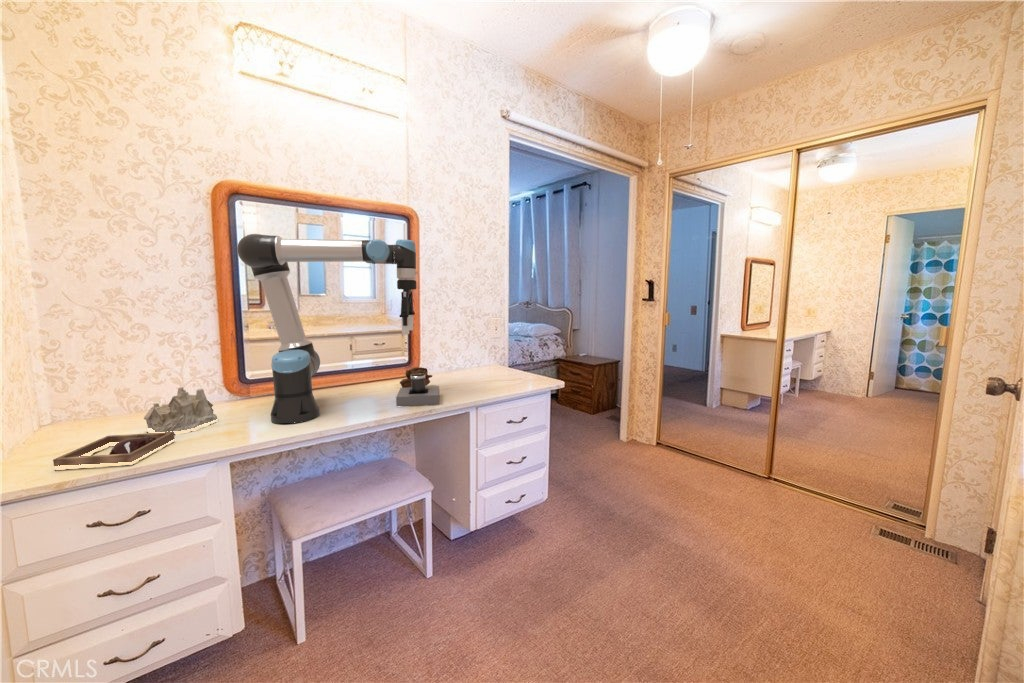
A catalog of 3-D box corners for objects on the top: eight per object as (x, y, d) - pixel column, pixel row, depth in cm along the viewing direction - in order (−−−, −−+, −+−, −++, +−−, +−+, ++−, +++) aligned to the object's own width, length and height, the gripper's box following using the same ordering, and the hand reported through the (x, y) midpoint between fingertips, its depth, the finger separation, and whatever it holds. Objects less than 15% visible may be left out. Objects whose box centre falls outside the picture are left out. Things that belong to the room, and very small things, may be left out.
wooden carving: (405, 394, 167) (404, 371, 166) (399, 392, 170) (398, 370, 168) (434, 386, 180) (434, 365, 179) (428, 384, 183) (427, 364, 181)
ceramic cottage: (226, 420, 134) (218, 378, 131) (175, 439, 118) (164, 392, 116) (192, 419, 138) (184, 378, 135) (139, 437, 122) (128, 392, 120)
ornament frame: (54, 470, 97) (52, 459, 96) (109, 445, 112) (107, 435, 112) (132, 465, 100) (130, 454, 99) (174, 441, 115) (173, 432, 115)
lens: (411, 401, 153) (410, 377, 152) (412, 397, 159) (411, 373, 157) (425, 400, 154) (425, 376, 153) (426, 396, 160) (425, 373, 158)
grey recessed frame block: (396, 407, 148) (396, 397, 148) (400, 397, 162) (400, 387, 162) (438, 404, 151) (438, 395, 150) (439, 395, 165) (439, 386, 164)
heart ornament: (118, 475, 100) (95, 449, 102) (168, 462, 112) (147, 439, 114) (130, 456, 100) (107, 430, 102) (179, 445, 111) (157, 422, 113)
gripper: (412, 278, 143) (413, 335, 145) (419, 280, 167) (420, 328, 170) (391, 278, 142) (393, 335, 144) (401, 280, 166) (402, 328, 169)
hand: (407, 332), depth 157 cm, fingers open, 13 cm apart
